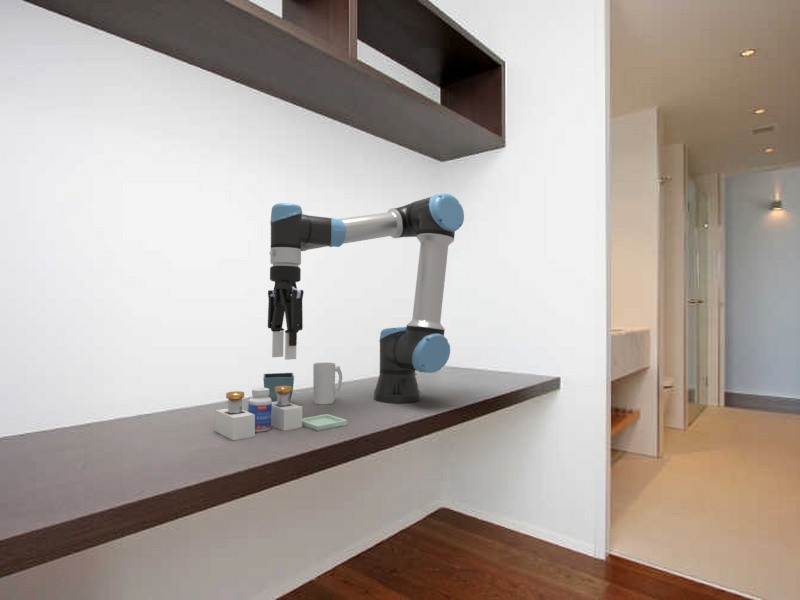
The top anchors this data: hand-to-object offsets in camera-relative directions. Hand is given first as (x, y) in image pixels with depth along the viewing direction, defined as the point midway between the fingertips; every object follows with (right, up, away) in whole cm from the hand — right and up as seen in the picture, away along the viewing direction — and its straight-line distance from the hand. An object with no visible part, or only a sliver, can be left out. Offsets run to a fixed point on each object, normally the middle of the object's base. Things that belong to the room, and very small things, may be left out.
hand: (284, 357), depth 118 cm
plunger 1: (-9, -14, -9) cm, 19 cm away
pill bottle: (-5, -17, -4) cm, 18 cm away
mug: (+7, -17, +28) cm, 34 cm away
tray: (+9, -17, +1) cm, 19 cm away
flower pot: (-8, -17, +23) cm, 30 cm away
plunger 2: (0, -14, 0) cm, 14 cm away
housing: (-5, -17, -4) cm, 18 cm away
